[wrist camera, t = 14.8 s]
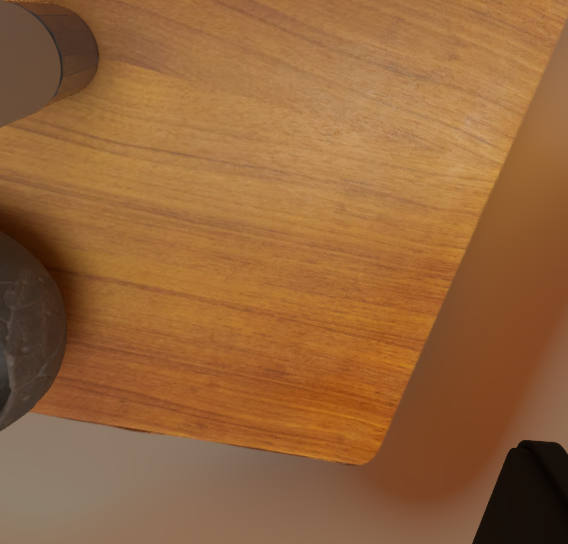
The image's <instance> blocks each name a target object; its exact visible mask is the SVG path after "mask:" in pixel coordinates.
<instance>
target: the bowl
mask: <svg viewBox="0 0 568 544" xmlns="http://www.w3.org/2000/svg"><path fill="white" fill-rule="evenodd" d="M66 341H67V319H66V312H65V307H64V302H63V299H62V296H61V292H60V290H59V288H58V286H57V284H56V282H55V281H54V279H53V278H52V277H51V275H50V274H49V272H48V271H47V270H46V269H45V267H44V266H43V265H42V264H41V263H40V262H39V260H38V259H37V258H36V257H35V256H34V255H33V254H32V253H31V252H30V251H29V250H28V249H26V248H25V247H24V246H23V245H22V244H20V243H19V242H18V241H16V240H15V239H13V238H12V237H10V236H9V235H7V234H5V233H4V232H2V231H0V431H2V430H3V429H5V428H6V427H8V426H9V425H11V424H12V423H13V422H15V421H17V420H18V419H19V418H21V417H22V416H24V415H25V414H26V413H27V412H29V411H30V410H31V409H32V408H33V407H34V406H35V404H36V403H37V402H38V401H39V400H40V399H41V398H42V397H43V396H44V395H45V393H46V392H47V391H48V390H49V388H50V387H51V385H52V384H53V382H54V380H55V378H56V376H57V374H58V372H59V369H60V367H61V364H62V360H63V357H64V353H65V348H66Z"/></svg>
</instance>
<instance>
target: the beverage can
mask: <svg viewBox="0 0 568 544" xmlns="http://www.w3.org/2000/svg"><path fill="white" fill-rule="evenodd" d="M60 74H61V67H60V59H59V54H58V51H57V48H56V45H55V43H54V41H53V39H52V37H51V35H50V34H49V32H48V31H47V29H46V28H45V27H44V25H43V24H42V23H41V22H40V21H39V20H38V19H37V18H36V17H35V16H33V15H32V14H31V13H29V12H28V11H27V10H25V9H23V8H22V7H20V6H18V5H15V4H13V3H10V2H7V1H3V0H0V127H2V126H5V125H7V124H9V123H12V122H14V121H17V120H19V119H21V118H24V117H26V116H29V115H31V114H33V113H36V112H38V111H39V110H41V109H42V108H44V107H45V106H46V105H47V104H48V103H49V102H50V101H51V99H52V98H53V96H54V95H55V93H56V91H57V88H58V85H59V81H60Z"/></svg>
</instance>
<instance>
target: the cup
mask: <svg viewBox="0 0 568 544" xmlns="http://www.w3.org/2000/svg"><path fill="white" fill-rule="evenodd" d="M7 2H10V3H13V4H15V5H18V6H20V7H22V8H23V9H25V10H27V11H28V12H29V13H31V14H32V15H33V16H35V17H36V18H37V19H38V20H39V21H40V22H41V23H42V24H43V25H44V27H45V28H46V29H47V31H48V32H49V34H50V35H51V37H52V39H53V41H54V43H55V45H56V48H57V51H58V54H59V59H60V67H61V74H60V81H59V85H58V88H57V91H56V93H55V95H54V96H53V98H52V99H51V101H50V102H49V103H48V104H47V105H46V106H48V105H51V104H53V103H55V102H58V101H60V100H62V99H65V98H67V97H70V96H72V95H74V94H77V93H79V92H80V91H81V90H83V89H84V88H85V87H87V85H88V84H89V83H90V82H91V81H92V79H93V77H94V75H95V73H96V70H97V66H98V49H97V44H96V41H95V38H94V36H93V34H92V32H91V30H90V29H89V27H88V26H87V25H86V23H85V22H84V21H83V20H82V19H81V18H80V17H79V16H78V15H77V14H75V13H74V12H72V11H71V10H69V9H67V8H65V7H62V6H59V5H55V4H47V3H37V2H19V1H7ZM46 106H45V107H46Z"/></svg>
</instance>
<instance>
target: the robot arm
mask: <svg viewBox="0 0 568 544" xmlns="http://www.w3.org/2000/svg"><path fill="white" fill-rule="evenodd" d="M472 544H568V454H567V453H566V451H565V450H564V448H563V447H562V446H561V445H560V444H558V443H555V442H544V441H531V440H523V441H521V442H520V443H519V444H518V446H517V448H512V449H510V451H509V452H508V454H507V457H506V459H505V462H504V464H503V467H502V469H501V472H500V474H499V477H498V479H497V482H496V485H495V487H494V490H493V492H492V495H491V497H490V500H489V502H488V505H487V507H486V510H485V512H484V515H483V518H482V520H481V523H480V525H479V528H478V530H477V533H476V535H475V538H474V540H473V543H472Z"/></svg>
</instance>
